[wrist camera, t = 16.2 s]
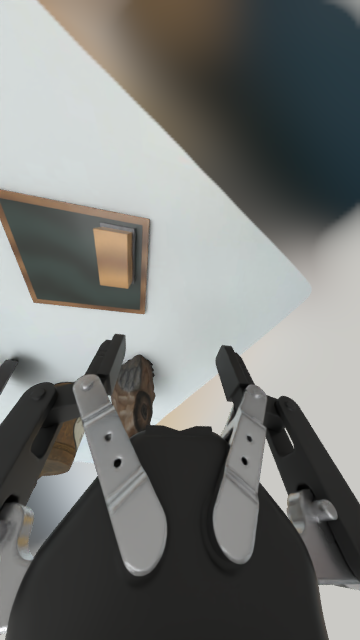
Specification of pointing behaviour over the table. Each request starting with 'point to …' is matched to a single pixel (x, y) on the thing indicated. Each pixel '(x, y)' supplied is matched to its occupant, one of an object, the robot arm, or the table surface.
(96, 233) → the eraser
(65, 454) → the wooden container
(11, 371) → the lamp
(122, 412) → the owl
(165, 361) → the table surface
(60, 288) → the board
